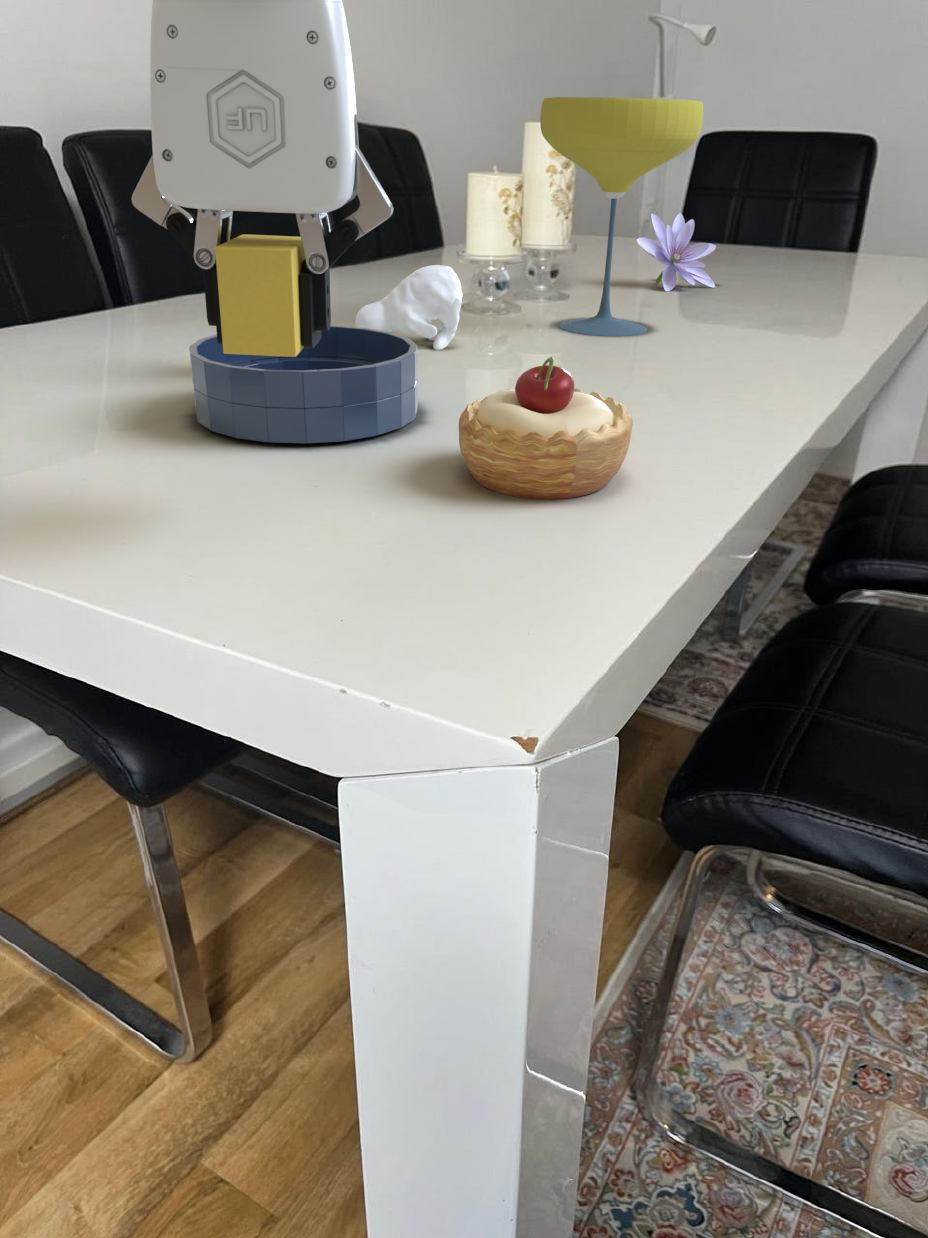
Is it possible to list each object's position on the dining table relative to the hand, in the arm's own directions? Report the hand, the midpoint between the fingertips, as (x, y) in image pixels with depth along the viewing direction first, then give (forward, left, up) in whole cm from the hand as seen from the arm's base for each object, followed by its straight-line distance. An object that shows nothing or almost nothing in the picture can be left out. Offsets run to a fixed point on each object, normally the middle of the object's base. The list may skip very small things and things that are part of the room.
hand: (270, 338), depth 55 cm
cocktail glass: (+26, +67, -11) cm, 73 cm away
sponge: (0, 0, 0) cm, 0 cm away
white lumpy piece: (+3, +54, -11) cm, 55 cm away
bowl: (-3, +24, -11) cm, 26 cm away
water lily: (+41, +104, -11) cm, 112 cm away
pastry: (+16, +10, -11) cm, 22 cm away
